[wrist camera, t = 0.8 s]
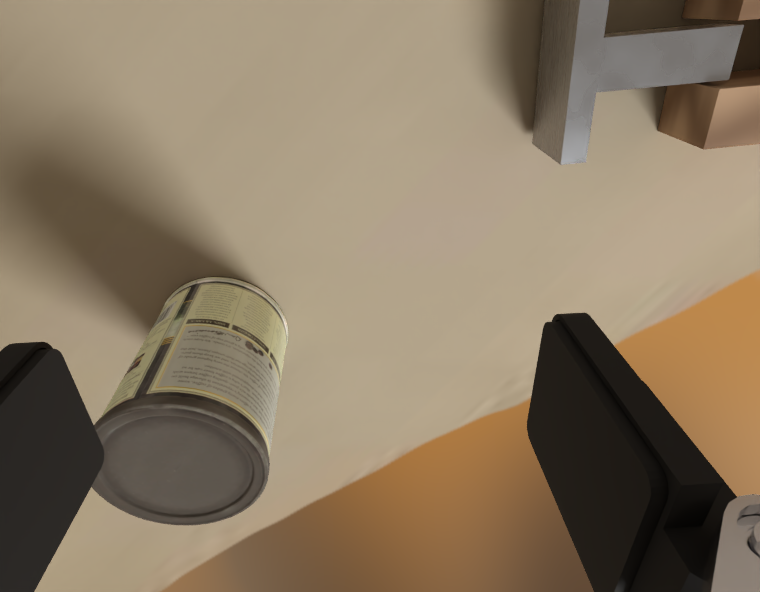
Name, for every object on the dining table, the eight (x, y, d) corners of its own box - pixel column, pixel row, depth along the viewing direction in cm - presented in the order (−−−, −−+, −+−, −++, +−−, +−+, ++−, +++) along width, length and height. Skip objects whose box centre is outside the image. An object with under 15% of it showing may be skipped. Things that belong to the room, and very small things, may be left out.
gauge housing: (539, -87, 27) (585, -108, 22) (891, -118, 27) (1017, -145, 22) (521, 149, 34) (553, 175, 29) (803, 122, 34) (885, 143, 29)
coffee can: (277, 387, 43) (252, 535, 31) (156, 366, 41) (79, 516, 29) (301, 291, 38) (283, 423, 26) (165, 261, 36) (78, 390, 24)
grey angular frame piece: (551, -83, 27) (591, -99, 22) (730, -98, 27) (804, -117, 22) (532, 143, 33) (560, 164, 29) (677, 129, 33) (726, 148, 29)
